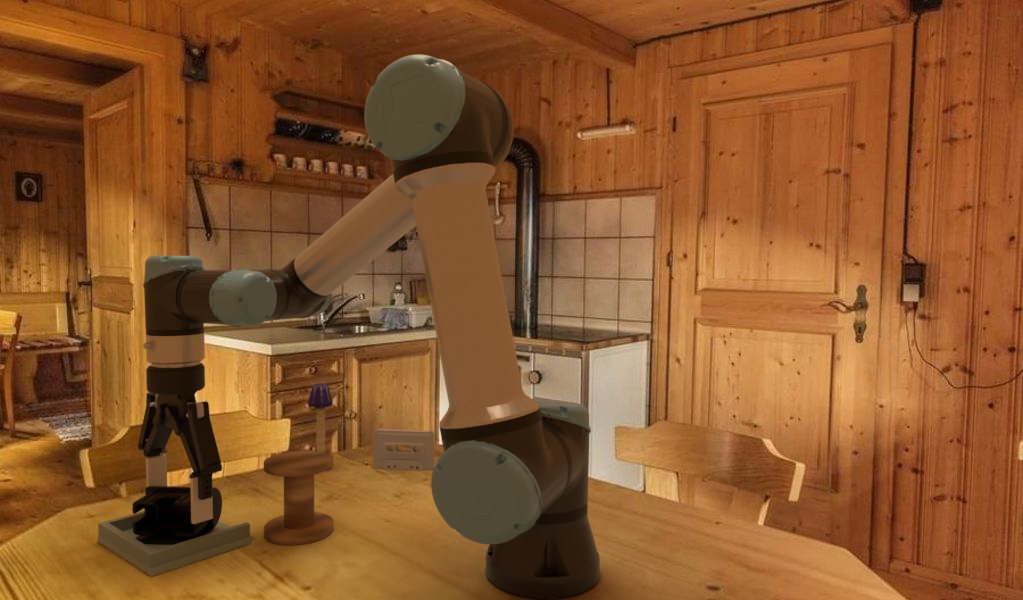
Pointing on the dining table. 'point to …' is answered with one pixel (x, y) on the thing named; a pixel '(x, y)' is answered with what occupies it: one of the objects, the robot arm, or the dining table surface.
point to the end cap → (171, 516)
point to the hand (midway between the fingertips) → (178, 509)
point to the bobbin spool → (298, 498)
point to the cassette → (404, 458)
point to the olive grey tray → (164, 556)
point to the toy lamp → (320, 411)
